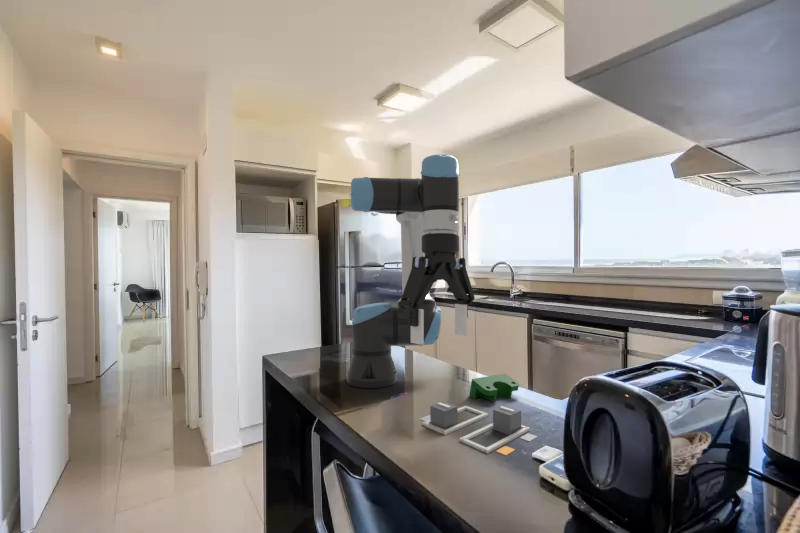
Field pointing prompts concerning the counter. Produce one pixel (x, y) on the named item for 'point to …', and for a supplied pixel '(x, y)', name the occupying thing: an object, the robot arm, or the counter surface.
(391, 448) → the counter surface
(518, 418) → the grey cube
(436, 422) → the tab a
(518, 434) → the switch board
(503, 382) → the green notched bracket
